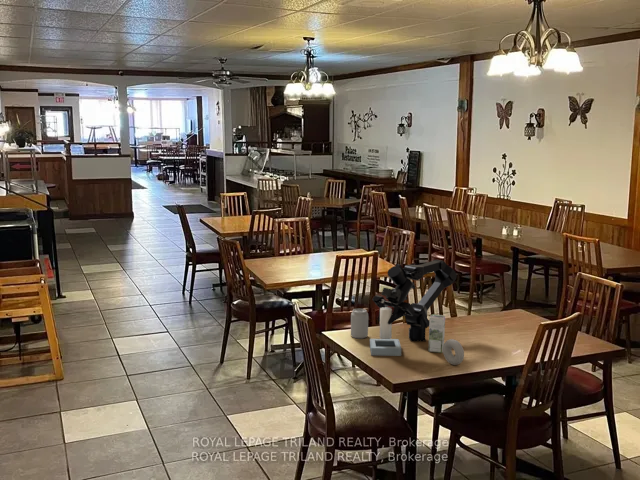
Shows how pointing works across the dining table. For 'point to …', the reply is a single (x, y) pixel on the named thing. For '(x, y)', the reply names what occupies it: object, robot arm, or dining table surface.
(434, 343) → the syrup box
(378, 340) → the caddy
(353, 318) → the can
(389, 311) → the white cylinder
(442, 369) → the dining table surface
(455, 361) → the donut
